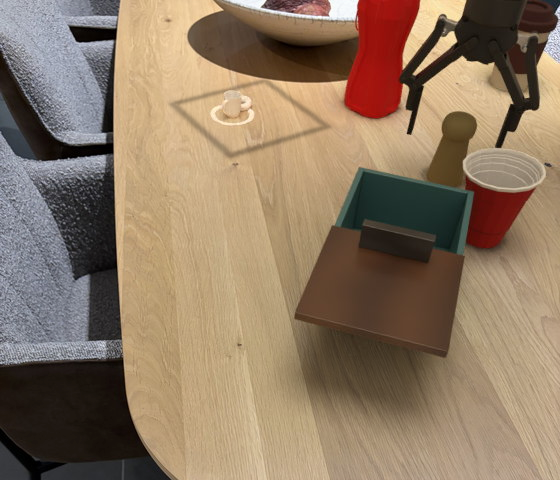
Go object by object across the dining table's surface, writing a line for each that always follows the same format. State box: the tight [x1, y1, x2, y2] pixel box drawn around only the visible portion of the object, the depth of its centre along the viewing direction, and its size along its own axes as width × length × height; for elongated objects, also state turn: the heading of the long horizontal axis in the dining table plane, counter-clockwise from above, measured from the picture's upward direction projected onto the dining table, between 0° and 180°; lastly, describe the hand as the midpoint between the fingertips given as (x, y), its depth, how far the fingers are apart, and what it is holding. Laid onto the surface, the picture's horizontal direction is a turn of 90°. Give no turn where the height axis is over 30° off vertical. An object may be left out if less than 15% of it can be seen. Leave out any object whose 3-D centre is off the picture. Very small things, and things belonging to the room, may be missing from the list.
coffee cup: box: [489, 0, 559, 93], centre depth 117 cm, size 10×10×15 cm
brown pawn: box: [425, 110, 478, 188], centre depth 94 cm, size 6×6×11 cm
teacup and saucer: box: [209, 90, 256, 127], centre depth 107 cm, size 9×8×4 cm
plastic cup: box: [463, 147, 547, 250], centre depth 85 cm, size 11×11×12 cm
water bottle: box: [344, 0, 421, 119], centre depth 104 cm, size 9×11×25 cm
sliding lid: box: [293, 219, 466, 359], centre depth 64 cm, size 16×16×4 cm
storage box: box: [333, 166, 474, 255], centre depth 79 cm, size 16×16×10 cm
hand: (453, 140), depth 93 cm, fingers open, 13 cm apart
